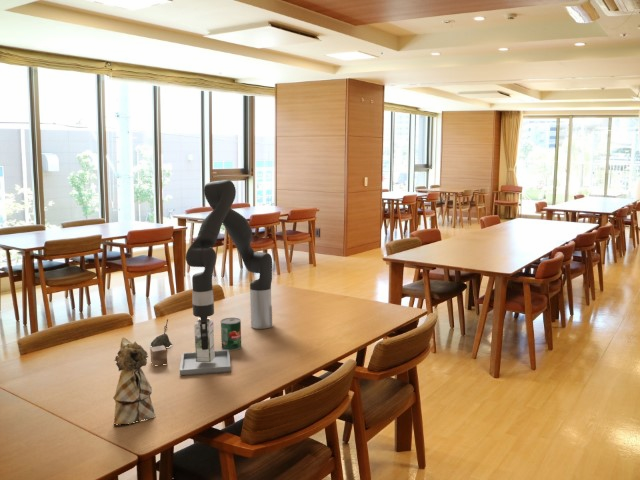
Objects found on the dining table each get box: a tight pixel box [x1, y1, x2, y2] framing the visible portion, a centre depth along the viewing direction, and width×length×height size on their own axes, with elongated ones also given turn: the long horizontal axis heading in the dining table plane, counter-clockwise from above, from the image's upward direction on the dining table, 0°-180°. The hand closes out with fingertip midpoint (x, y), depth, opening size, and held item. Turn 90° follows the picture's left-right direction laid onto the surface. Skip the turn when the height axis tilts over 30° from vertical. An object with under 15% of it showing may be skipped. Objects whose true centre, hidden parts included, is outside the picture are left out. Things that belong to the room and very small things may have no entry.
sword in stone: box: [150, 318, 173, 348], centre depth 239 cm, size 10×8×12 cm
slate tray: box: [179, 349, 232, 376], centre depth 218 cm, size 18×18×2 cm
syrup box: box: [193, 319, 216, 362], centre depth 217 cm, size 6×6×14 cm
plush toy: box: [112, 336, 156, 426], centre depth 176 cm, size 14×14×25 cm
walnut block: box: [149, 345, 168, 367], centre depth 220 cm, size 5×5×6 cm
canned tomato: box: [220, 317, 242, 351], centre depth 237 cm, size 8×8×11 cm
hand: (205, 345), depth 217 cm, fingers closed on syrup box, 6 cm apart
